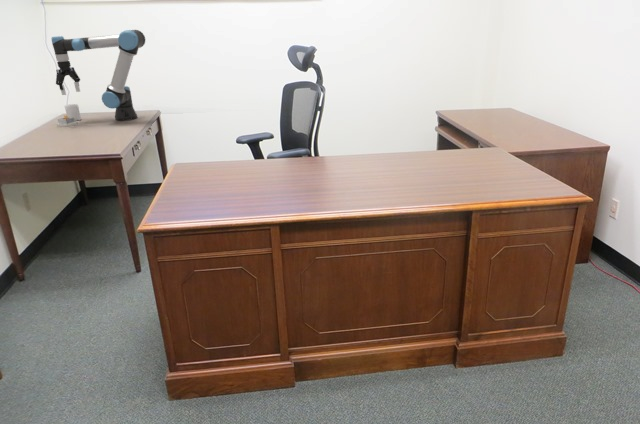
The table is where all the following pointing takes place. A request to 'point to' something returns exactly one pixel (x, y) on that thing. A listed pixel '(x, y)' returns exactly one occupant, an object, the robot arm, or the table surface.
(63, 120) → the link
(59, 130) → the table surface
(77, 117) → the mug
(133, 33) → the robot arm
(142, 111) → the table surface
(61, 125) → the keeper
